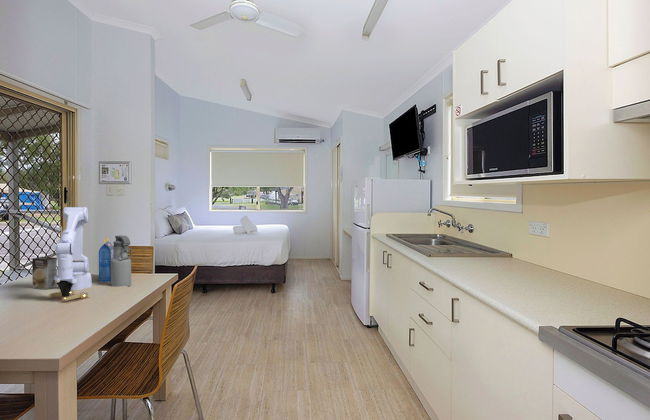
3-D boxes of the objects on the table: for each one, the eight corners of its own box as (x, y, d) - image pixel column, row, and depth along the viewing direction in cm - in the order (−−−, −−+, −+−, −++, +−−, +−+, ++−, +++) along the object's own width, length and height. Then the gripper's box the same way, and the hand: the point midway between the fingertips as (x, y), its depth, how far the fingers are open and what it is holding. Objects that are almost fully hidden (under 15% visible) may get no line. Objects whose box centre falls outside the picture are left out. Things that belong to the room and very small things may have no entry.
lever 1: (71, 293, 173) (70, 288, 173) (75, 294, 171) (75, 289, 171) (46, 298, 163) (46, 293, 163) (51, 299, 161) (51, 295, 161)
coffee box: (31, 288, 185) (31, 258, 184) (42, 285, 191) (42, 256, 191) (47, 289, 184) (46, 259, 184) (57, 286, 191) (57, 257, 190)
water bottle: (135, 285, 194) (135, 235, 193) (119, 289, 185) (118, 237, 184) (123, 283, 198) (123, 234, 197) (106, 287, 189) (106, 236, 188)
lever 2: (84, 296, 168) (84, 291, 168) (89, 297, 167) (89, 292, 167) (59, 302, 159) (59, 297, 158) (65, 303, 157) (65, 298, 157)
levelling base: (70, 295, 173) (70, 292, 173) (90, 299, 166) (90, 296, 166) (47, 300, 164) (47, 297, 164) (67, 305, 157) (67, 302, 157)
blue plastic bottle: (98, 282, 200) (98, 239, 199) (102, 277, 211) (101, 236, 210) (111, 281, 202) (110, 238, 201) (114, 277, 213) (113, 236, 212)
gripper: (46, 267, 162) (47, 296, 162) (65, 271, 156) (65, 300, 156) (63, 265, 168) (63, 292, 169) (81, 268, 162) (82, 296, 163)
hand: (65, 296), depth 163 cm, fingers closed
